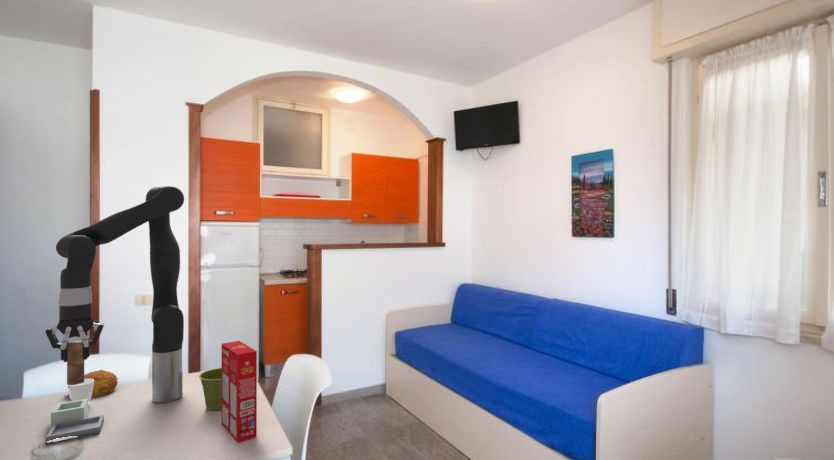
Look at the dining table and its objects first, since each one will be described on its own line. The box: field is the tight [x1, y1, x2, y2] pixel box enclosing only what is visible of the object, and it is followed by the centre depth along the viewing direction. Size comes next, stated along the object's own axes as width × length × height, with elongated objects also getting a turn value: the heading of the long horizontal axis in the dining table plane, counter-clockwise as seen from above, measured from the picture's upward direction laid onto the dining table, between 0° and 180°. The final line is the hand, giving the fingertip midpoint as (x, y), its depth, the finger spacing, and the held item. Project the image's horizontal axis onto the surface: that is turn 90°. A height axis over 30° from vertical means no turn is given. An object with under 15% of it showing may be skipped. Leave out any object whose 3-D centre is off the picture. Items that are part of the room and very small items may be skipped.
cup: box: [68, 379, 94, 406], centre depth 142 cm, size 7×10×8 cm
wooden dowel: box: [66, 340, 85, 386], centre depth 124 cm, size 4×4×12 cm
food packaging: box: [221, 340, 258, 444], centre depth 125 cm, size 15×5×25 cm, turn 42°
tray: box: [45, 414, 105, 442], centre depth 124 cm, size 12×9×2 cm
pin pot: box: [50, 399, 89, 429], centre depth 130 cm, size 8×8×5 cm
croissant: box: [67, 369, 118, 398], centre depth 155 cm, size 14×16×8 cm
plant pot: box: [198, 367, 222, 411], centre depth 142 cm, size 12×12×11 cm
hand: (75, 359), depth 124 cm, fingers closed on wooden dowel, 4 cm apart
